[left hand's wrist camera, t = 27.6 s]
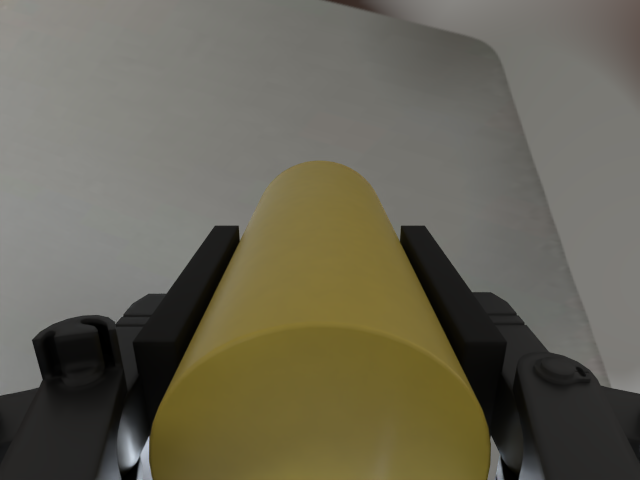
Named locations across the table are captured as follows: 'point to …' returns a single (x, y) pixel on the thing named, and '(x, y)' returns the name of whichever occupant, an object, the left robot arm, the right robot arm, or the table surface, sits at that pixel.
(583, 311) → the table surface
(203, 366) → the cylinder
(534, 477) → the left robot arm
